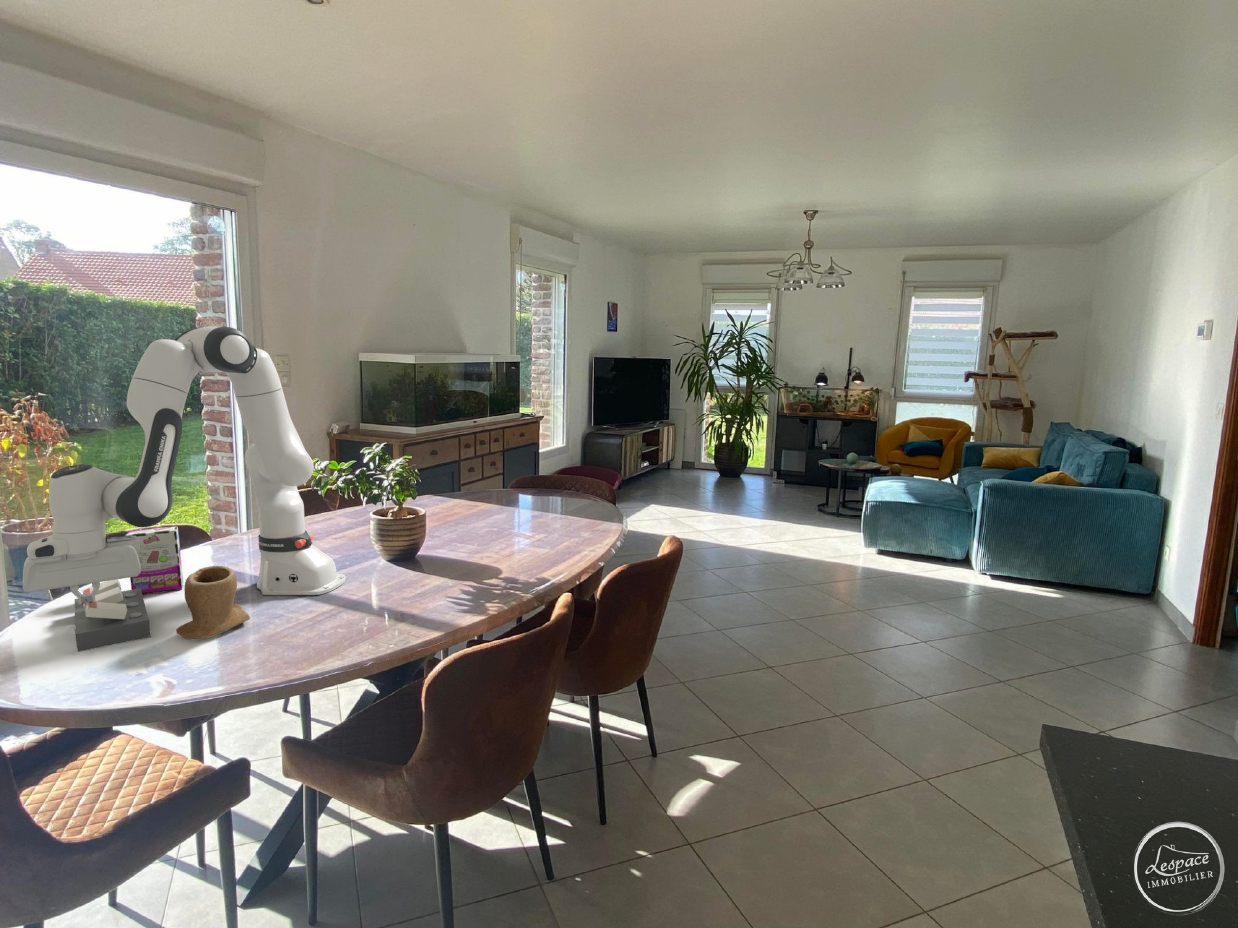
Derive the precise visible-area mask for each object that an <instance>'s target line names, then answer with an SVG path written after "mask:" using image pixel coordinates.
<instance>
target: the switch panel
mask: <svg viewBox="0 0 1238 928" xmlns="http://www.w3.org/2000/svg"><path fill="white" fill-rule="evenodd" d="M121 592H122V595H123V600H122V601H120V602H117V604H126V607H127V613H126V616H125V619H112V618H96V617H86V613H85V608H84V606H83V604H81V605H79V602H78V598H74V632H75V633H74V635H75V642H76V651H77V652H83V651H84V652H85V651H88V650H89V651H90V650H93V649H98V648H104V647H108V646H112V645H119V644H124V643H127V642H128V643H129V642H132V641H138V640H143V639H147V638H151V637H152V635H151V634H152V633H151V624H150V618H149V615H148V611H147V607H146V604H145V599H144V595H142V592H141V588H139V589H133V590H131V589H128V590H127V589H126V590H122V591H121Z"/></svg>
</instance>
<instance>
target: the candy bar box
mask: <svg viewBox="0 0 1238 928" xmlns="http://www.w3.org/2000/svg"><path fill="white" fill-rule="evenodd" d="M125 536H131V537H135V538H137V539H138V540H139V541H140V546H141V549H140V552H139V553H138V557H139V561H140V566H141V573H140V574H139V575H138V576H136V577H129V578H130V579H129V580H130V588H131V589H130V590H133V589H139V588H141V592H142V595H143V596H144V595H151V594H157V593H160V594H161V593H167V592H174V591H181V590H183V586H184V585H185V582H184V575H183V573H184V572H183V565H182V556H181V555H182V554H181V546H180V537H179V528H178V526H177V525H176V526H175V525H174V526H166V527H165V526H163V527H154V528H145V529H135V530H134V529H133V530H128V531H127V533H126V534H125ZM131 540H134V539H131Z"/></svg>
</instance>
